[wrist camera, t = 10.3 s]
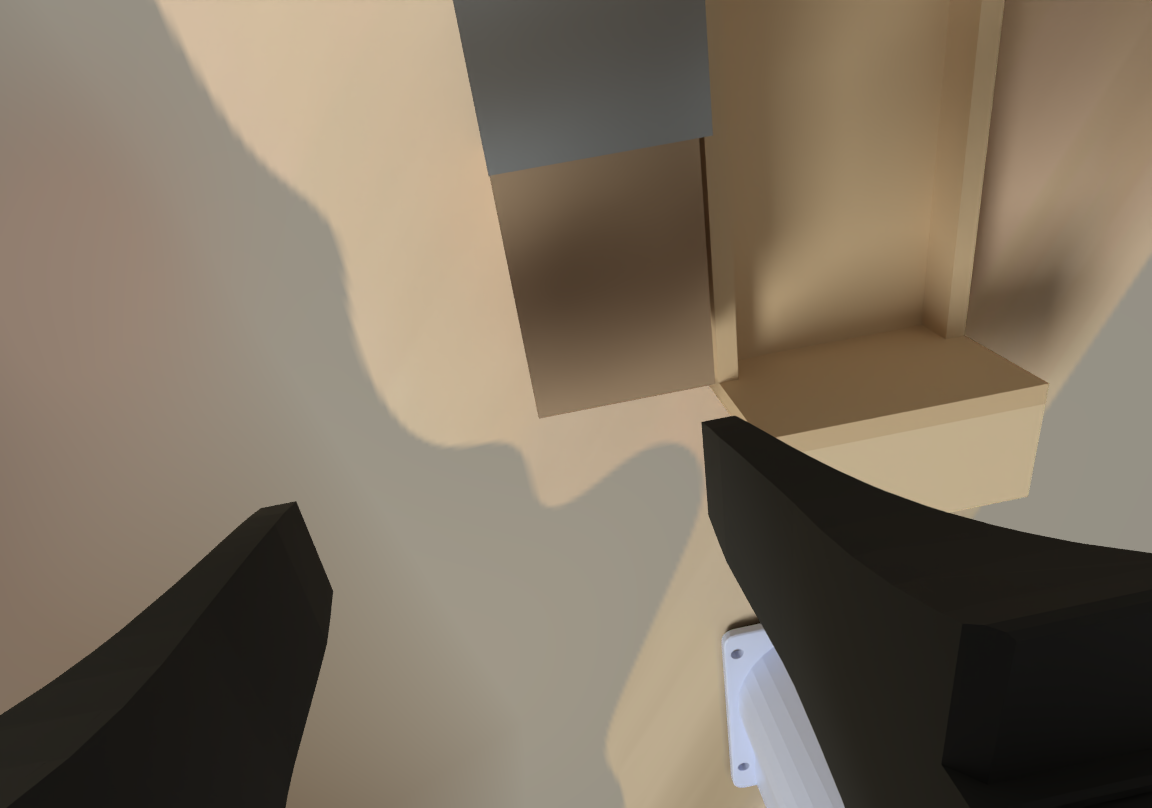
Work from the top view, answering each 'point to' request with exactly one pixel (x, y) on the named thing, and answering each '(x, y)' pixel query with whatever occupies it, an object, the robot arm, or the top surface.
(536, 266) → the box
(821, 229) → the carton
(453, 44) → the top surface
